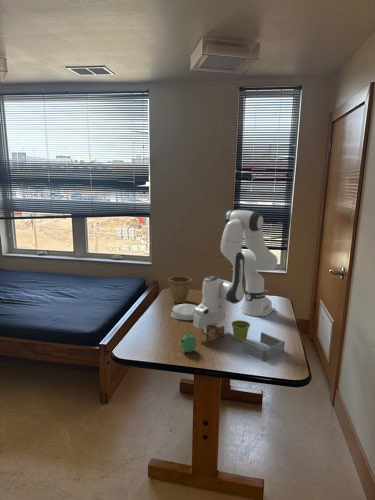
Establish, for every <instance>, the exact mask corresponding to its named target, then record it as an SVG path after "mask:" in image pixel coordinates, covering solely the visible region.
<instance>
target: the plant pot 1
mask: <svg viewBox="0 0 375 500" xmlns="http://www.w3.org/2000/svg"><path fill="white" fill-rule="evenodd" d="M168 280H169V281H168V282H169V287H170V288H169V289H170V293H171V297H172V300H173V301H174V302H173V303H175V302H176V303H175V304H178V303H182V304H185V303H186V301H187V299H188V295H189V293H190V289H191V283H192V279H191V278H190V277H187V276H172V277H169V279H168ZM184 302H185V303H184Z"/></svg>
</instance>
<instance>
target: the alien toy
mask: <svg viewBox="0 0 375 500" xmlns="http://www.w3.org/2000/svg"><path fill="white" fill-rule="evenodd" d="M192 332H193V331H192V330H189V331H188V333H186V334H185V335H184V336H183V337H182V339H181V341H180V342H179V343H180V345H181V347H182V349H183V351H185V352H186V353H192V352H193V351H194V350H195V349H196V347H197V338H196V336H194V335H193V334H192Z"/></svg>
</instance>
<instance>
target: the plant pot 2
mask: <svg viewBox="0 0 375 500" xmlns="http://www.w3.org/2000/svg"><path fill="white" fill-rule="evenodd" d="M231 326H232V331H233V339H234V341H235V342H237V343H242V340H246V341H247V337H248V332H249V328H250V327H251V323H250V322H248V321H245V320H234V321H231Z"/></svg>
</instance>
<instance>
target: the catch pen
mask: <svg viewBox="0 0 375 500" xmlns="http://www.w3.org/2000/svg"><path fill="white" fill-rule="evenodd" d="M259 340H260V343H263V344H264V345H267V346H269V347H267V348H262V346H261V347H260V346H259V345H256V344H254V343H253V342H250V341H249V340H247V339H246V340H242V342H241V343H242V345H241V350H242V351H243V352H245V353H248V354H250V355H251V356H254V357H255V358H257V359H259V360H261V361H264V362H265V361H267V360H269V359H271V358H274V357H276V356H277V355H280V354H281V353H283V352H285V343H286V341H285V340H282V339H280V338H277V337H275V336H272V335H270V334H267V333H266V332H263V331H261V332H260V339H259Z"/></svg>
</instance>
